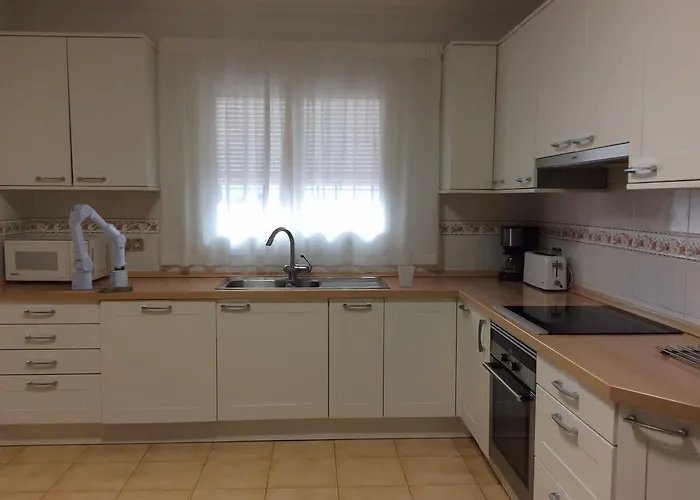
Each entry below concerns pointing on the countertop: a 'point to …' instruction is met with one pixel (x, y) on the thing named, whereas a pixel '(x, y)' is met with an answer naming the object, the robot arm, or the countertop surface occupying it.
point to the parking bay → (117, 289)
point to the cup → (406, 275)
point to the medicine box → (118, 278)
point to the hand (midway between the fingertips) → (119, 280)
